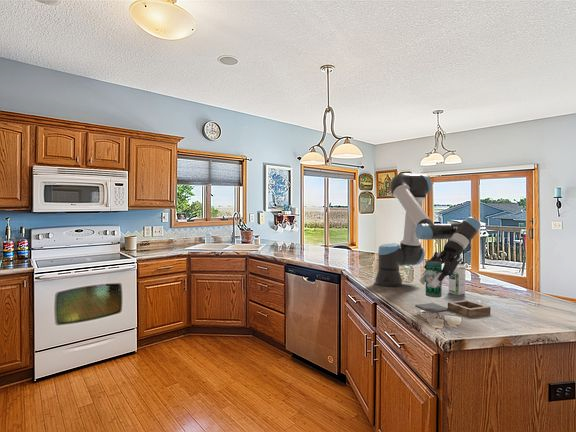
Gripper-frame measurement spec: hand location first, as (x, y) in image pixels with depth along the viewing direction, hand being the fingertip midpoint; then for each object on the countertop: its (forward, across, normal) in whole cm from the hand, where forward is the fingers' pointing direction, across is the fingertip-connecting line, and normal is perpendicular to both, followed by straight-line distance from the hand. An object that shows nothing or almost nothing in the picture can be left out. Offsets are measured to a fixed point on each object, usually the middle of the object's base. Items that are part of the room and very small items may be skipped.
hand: (427, 284), depth 143 cm
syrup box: (-17, +17, -33) cm, 40 cm away
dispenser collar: (-2, -8, -18) cm, 20 cm away
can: (+1, 0, -6) cm, 7 cm away
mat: (+5, +1, -10) cm, 12 cm away
